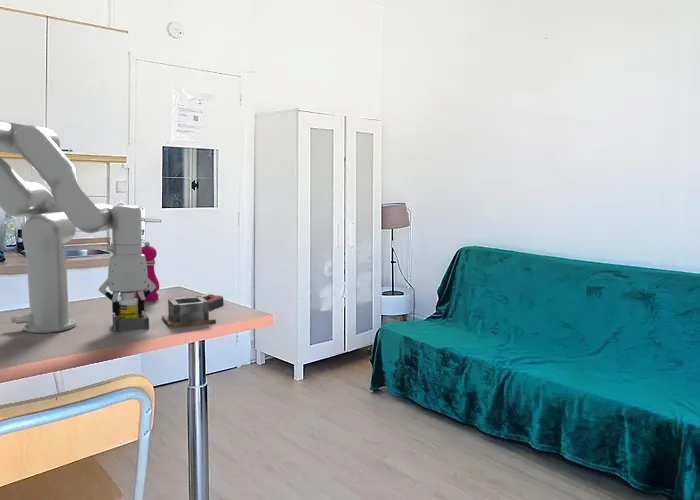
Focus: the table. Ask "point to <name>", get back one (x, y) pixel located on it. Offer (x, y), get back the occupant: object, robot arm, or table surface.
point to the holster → (131, 323)
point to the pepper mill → (151, 270)
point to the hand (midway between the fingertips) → (128, 313)
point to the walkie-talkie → (213, 300)
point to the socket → (188, 312)
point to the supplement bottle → (128, 306)
